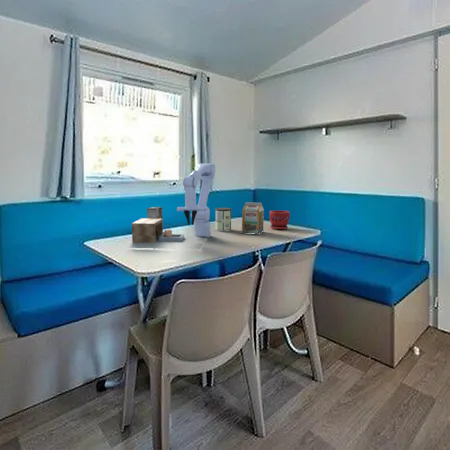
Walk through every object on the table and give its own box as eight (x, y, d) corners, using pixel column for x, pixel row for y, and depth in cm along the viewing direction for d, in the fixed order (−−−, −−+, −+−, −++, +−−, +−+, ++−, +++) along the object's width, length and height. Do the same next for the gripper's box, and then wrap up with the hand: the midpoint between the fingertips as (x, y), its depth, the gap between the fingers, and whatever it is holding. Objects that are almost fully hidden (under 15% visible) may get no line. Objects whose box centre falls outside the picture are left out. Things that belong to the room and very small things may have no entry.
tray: (184, 239, 191) (184, 234, 190) (181, 243, 182) (181, 237, 182) (163, 239, 192) (162, 233, 191) (159, 242, 183) (158, 237, 182)
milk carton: (242, 233, 210) (242, 202, 207) (247, 230, 220) (248, 201, 217) (258, 234, 206) (259, 203, 203) (263, 232, 216) (264, 202, 213)
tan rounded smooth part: (172, 238, 189) (172, 229, 188) (171, 240, 185) (170, 230, 184) (165, 238, 189) (165, 229, 188) (163, 239, 185) (163, 230, 184)
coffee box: (153, 232, 211) (152, 206, 209) (163, 232, 210) (162, 207, 207) (147, 235, 202) (146, 208, 200) (157, 235, 201) (156, 208, 199)
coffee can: (220, 228, 229) (221, 207, 227) (234, 229, 223) (234, 208, 221) (212, 230, 220) (212, 208, 218) (225, 232, 215) (225, 209, 213)
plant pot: (290, 230, 221) (291, 212, 219) (270, 230, 221) (271, 212, 220) (287, 227, 234) (288, 209, 232) (268, 227, 234) (268, 209, 232)
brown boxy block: (163, 237, 196) (162, 218, 194) (155, 244, 178) (154, 223, 177) (142, 237, 197) (141, 218, 195) (132, 243, 179) (131, 223, 177)
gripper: (175, 199, 179) (176, 225, 181) (203, 200, 178) (203, 225, 180) (178, 198, 186) (178, 223, 188) (204, 199, 185) (204, 223, 187)
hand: (190, 224), depth 185 cm, fingers closed
